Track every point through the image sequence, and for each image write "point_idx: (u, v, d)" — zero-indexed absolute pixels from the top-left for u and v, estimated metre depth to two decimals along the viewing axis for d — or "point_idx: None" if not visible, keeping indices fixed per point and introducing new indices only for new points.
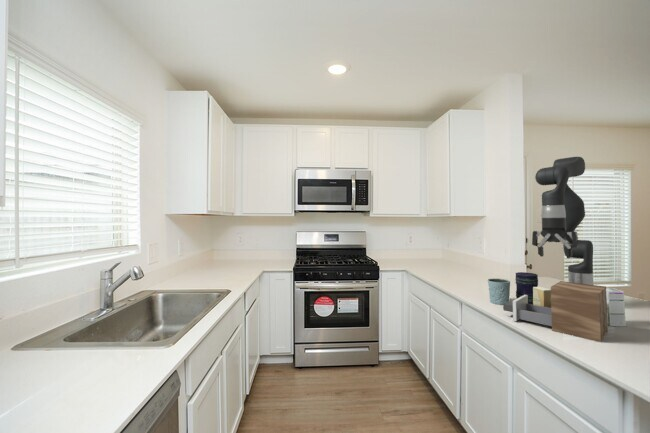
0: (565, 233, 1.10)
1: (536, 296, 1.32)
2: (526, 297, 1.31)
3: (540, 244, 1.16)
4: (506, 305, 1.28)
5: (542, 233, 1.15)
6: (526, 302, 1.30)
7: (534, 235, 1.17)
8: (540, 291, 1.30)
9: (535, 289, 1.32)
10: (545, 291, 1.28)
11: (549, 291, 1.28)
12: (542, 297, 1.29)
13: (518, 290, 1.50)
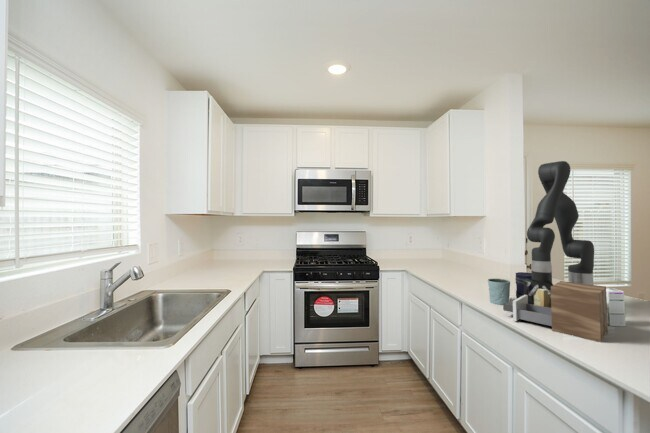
0: None
1: (536, 296, 1.32)
2: (526, 297, 1.31)
3: (531, 293, 1.33)
4: (506, 305, 1.28)
5: (532, 283, 1.33)
6: (526, 302, 1.30)
7: (525, 285, 1.35)
8: (540, 291, 1.30)
9: None
10: (545, 291, 1.28)
11: None
12: (542, 297, 1.29)
13: (518, 290, 1.50)
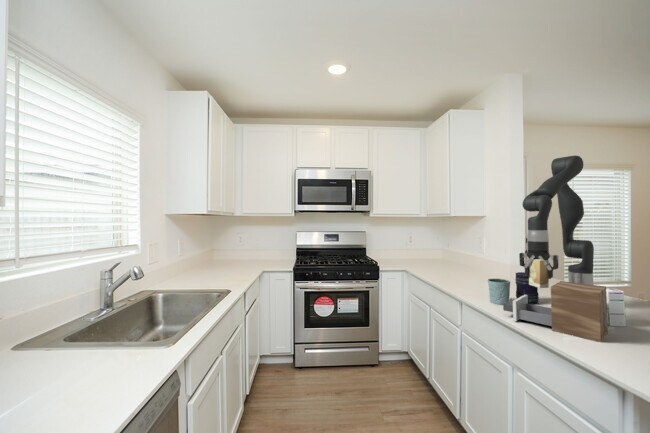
0: (547, 256, 1.22)
1: (532, 267, 1.26)
2: (526, 297, 1.31)
3: (526, 265, 1.28)
4: (506, 305, 1.28)
5: (528, 254, 1.28)
6: (526, 302, 1.30)
7: (521, 256, 1.30)
8: (536, 261, 1.24)
9: None
10: (541, 261, 1.23)
11: None
12: (538, 267, 1.23)
13: (518, 290, 1.50)
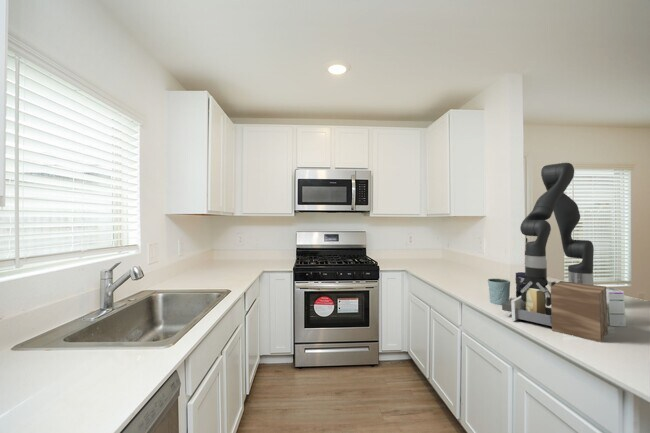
0: (545, 283, 1.19)
1: (529, 297, 1.23)
2: None
3: (523, 290, 1.25)
4: (505, 305, 1.29)
5: (525, 280, 1.25)
6: (525, 302, 1.31)
7: (518, 281, 1.27)
8: (533, 291, 1.21)
9: (528, 289, 1.24)
10: (538, 291, 1.20)
11: None
12: (535, 297, 1.20)
13: None
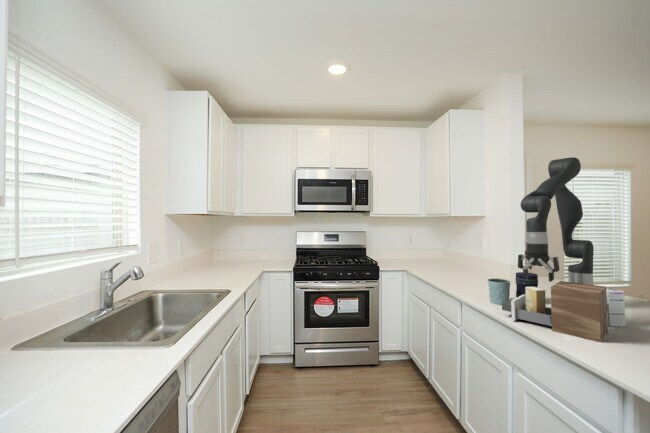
0: (547, 258, 1.19)
1: (528, 297, 1.23)
2: None
3: (525, 267, 1.25)
4: (505, 305, 1.29)
5: (527, 257, 1.24)
6: (525, 302, 1.31)
7: (519, 258, 1.26)
8: (533, 291, 1.21)
9: (527, 289, 1.24)
10: (538, 291, 1.20)
11: (542, 291, 1.20)
12: (535, 297, 1.20)
13: (518, 290, 1.50)
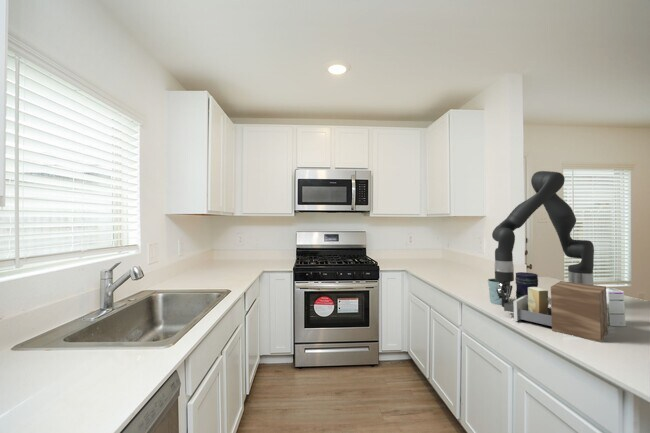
0: (498, 286, 1.31)
1: (531, 297, 1.23)
2: (527, 297, 1.30)
3: None
4: (507, 305, 1.28)
5: None
6: (527, 302, 1.30)
7: None
8: (535, 292, 1.21)
9: (530, 289, 1.23)
10: (540, 292, 1.19)
11: (545, 292, 1.19)
12: (537, 298, 1.20)
13: (518, 290, 1.50)
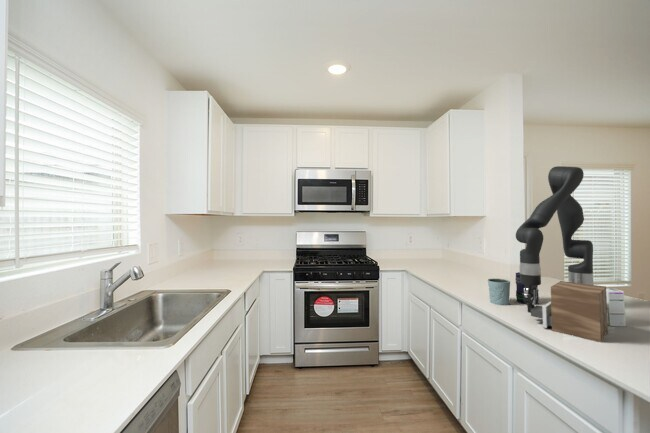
0: (524, 290, 1.23)
1: None
2: None
3: None
4: (534, 311, 1.20)
5: None
6: None
7: None
8: None
9: None
10: None
11: None
12: None
13: (518, 290, 1.50)
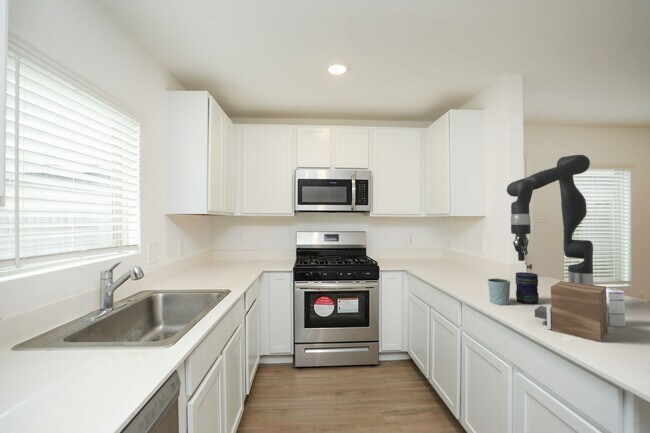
0: (515, 239, 1.31)
1: None
2: None
3: None
4: (538, 311, 1.19)
5: None
6: None
7: None
8: None
9: None
10: None
11: None
12: None
13: (518, 290, 1.50)
